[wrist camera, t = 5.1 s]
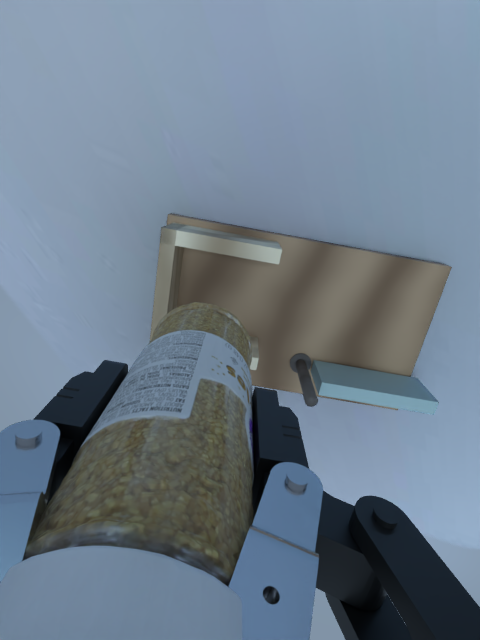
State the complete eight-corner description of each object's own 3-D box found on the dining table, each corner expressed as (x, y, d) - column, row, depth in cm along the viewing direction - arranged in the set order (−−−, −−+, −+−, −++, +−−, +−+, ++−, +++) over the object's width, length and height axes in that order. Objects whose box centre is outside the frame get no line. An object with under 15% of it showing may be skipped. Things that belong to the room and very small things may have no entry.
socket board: (443, 264, 29) (502, 286, 22) (392, 402, 34) (428, 456, 27) (171, 213, 28) (146, 220, 22) (154, 361, 33) (129, 406, 26)
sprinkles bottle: (261, 381, 17) (312, 934, 4) (167, 399, 17) (-36, 957, 5) (240, 288, 16) (224, 718, 3) (137, 309, 16) (-273, 777, 3)
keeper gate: (413, 389, 31) (433, 414, 28) (310, 371, 31) (318, 394, 28) (417, 378, 31) (438, 402, 28) (313, 360, 31) (322, 382, 27)
